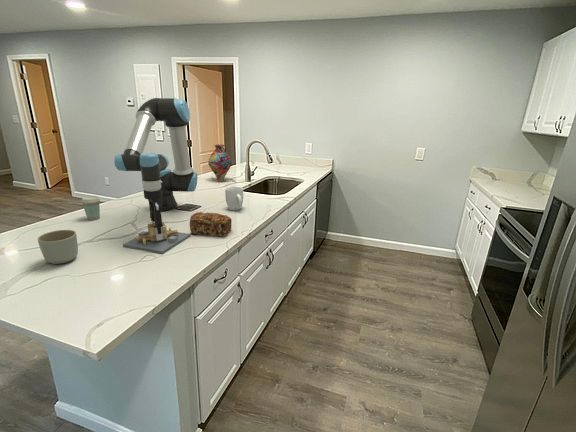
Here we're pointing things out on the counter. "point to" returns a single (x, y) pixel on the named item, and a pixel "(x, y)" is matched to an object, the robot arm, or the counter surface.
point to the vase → (220, 163)
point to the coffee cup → (91, 207)
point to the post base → (157, 243)
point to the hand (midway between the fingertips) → (158, 236)
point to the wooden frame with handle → (153, 233)
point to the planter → (59, 246)
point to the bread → (210, 224)
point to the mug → (234, 197)
